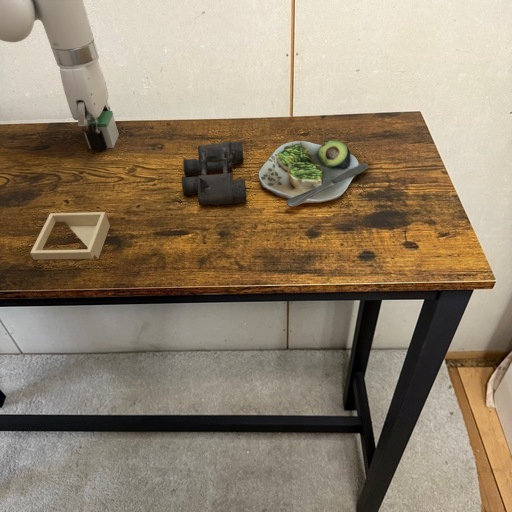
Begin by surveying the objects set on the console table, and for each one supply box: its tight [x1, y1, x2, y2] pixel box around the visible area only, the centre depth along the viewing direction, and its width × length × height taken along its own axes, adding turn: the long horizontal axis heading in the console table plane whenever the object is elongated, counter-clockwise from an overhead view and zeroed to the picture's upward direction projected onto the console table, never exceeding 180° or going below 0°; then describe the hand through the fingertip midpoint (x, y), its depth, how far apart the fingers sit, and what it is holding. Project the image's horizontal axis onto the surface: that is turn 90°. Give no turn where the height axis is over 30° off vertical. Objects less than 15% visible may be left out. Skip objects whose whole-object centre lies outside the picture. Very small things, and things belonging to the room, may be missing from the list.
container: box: [83, 110, 120, 150], centre depth 93 cm, size 5×5×6 cm
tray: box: [29, 211, 111, 261], centre depth 72 cm, size 9×9×3 cm
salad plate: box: [258, 139, 369, 208], centre depth 81 cm, size 19×18×5 cm
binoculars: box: [181, 141, 248, 206], centre depth 81 cm, size 11×16×6 cm
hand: (103, 138), depth 95 cm, fingers open, 6 cm apart
